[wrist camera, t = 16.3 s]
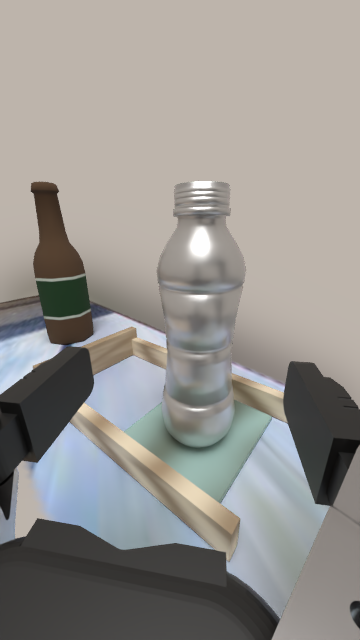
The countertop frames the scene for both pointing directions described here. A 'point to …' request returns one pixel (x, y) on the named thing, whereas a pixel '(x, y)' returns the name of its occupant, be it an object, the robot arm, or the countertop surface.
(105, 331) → the countertop surface
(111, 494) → the countertop surface
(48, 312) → the beer bottle
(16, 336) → the countertop surface
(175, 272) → the plastic bottle
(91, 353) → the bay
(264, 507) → the countertop surface
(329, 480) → the robot arm
